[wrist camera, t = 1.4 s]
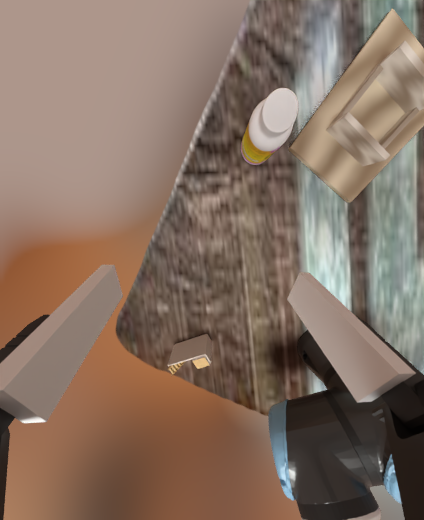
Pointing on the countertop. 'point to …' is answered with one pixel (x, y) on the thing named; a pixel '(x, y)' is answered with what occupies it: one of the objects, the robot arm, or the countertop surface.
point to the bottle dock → (367, 111)
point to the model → (191, 353)
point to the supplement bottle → (269, 126)
